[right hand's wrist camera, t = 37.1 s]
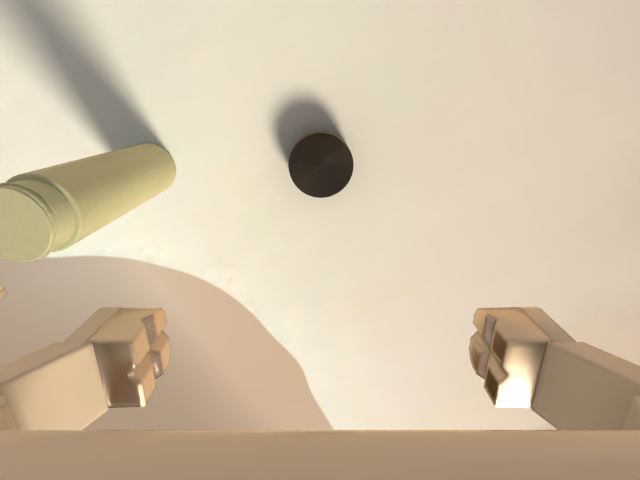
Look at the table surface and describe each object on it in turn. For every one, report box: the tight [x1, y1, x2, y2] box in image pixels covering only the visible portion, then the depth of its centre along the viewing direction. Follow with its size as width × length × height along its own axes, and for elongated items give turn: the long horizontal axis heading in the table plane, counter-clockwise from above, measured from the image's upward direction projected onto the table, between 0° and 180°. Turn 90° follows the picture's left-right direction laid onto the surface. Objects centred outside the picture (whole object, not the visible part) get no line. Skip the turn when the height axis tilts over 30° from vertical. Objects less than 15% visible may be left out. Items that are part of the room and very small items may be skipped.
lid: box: [289, 131, 353, 198], centre depth 36 cm, size 6×6×2 cm
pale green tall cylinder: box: [0, 143, 176, 262], centre depth 29 cm, size 5×5×18 cm
